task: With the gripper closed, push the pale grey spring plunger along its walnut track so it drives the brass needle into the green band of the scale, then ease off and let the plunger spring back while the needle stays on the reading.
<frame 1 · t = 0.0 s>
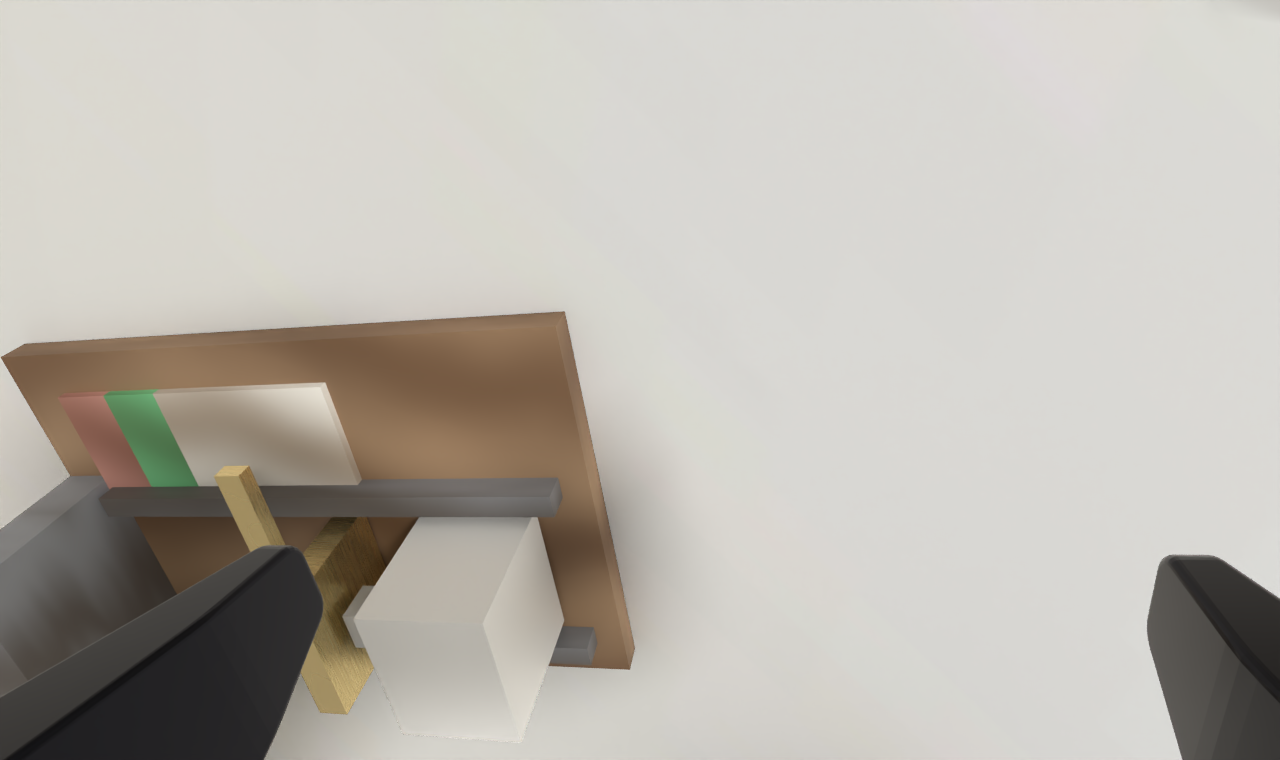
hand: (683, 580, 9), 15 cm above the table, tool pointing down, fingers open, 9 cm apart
drag needle: (320, 558, 26), point 3 cm above the table, slide at 0.0 cm
spring plunger: (441, 618, 26), point 4 cm above the table, slide at 0.0 cm
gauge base: (340, 501, 30), on the table
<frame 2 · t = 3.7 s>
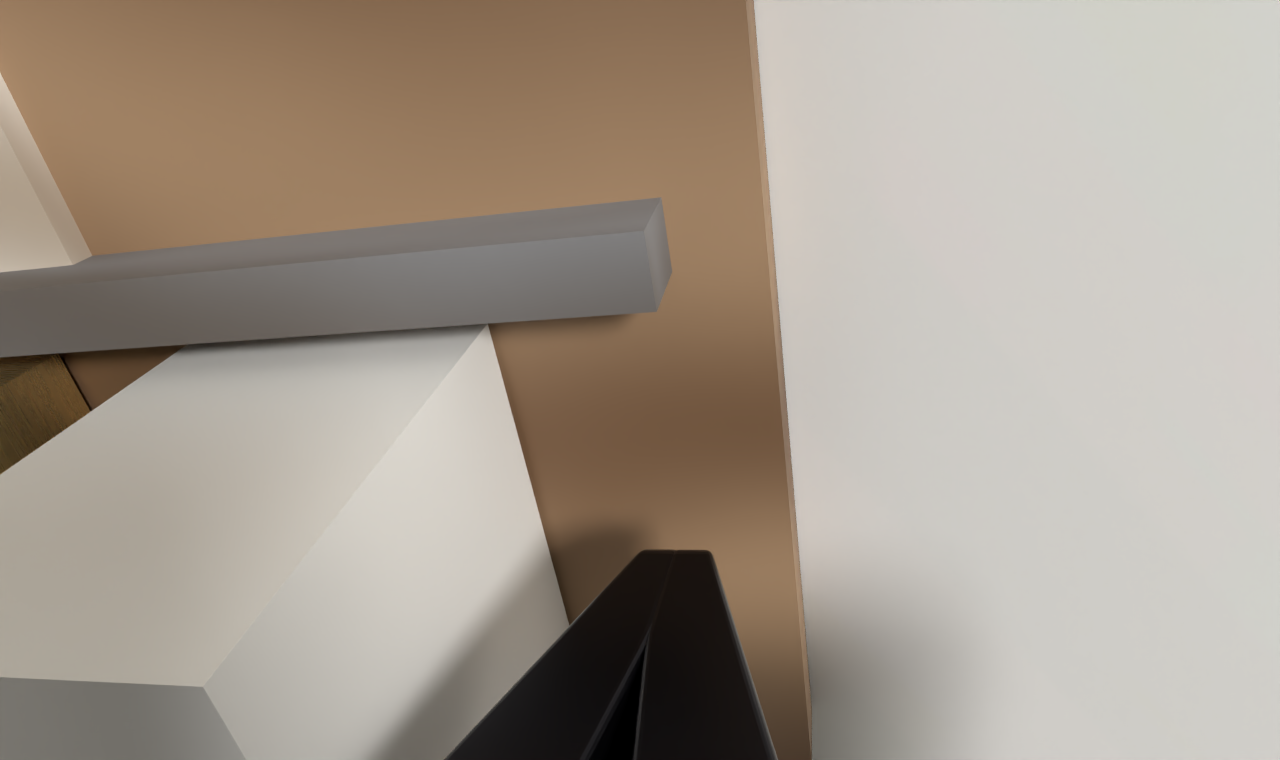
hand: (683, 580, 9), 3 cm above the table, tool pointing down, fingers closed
spring plunger: (210, 647, 9), point 4 cm above the table, slide at 1.2 cm, touching drag needle, gripper
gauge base: (87, 351, 12), on the table
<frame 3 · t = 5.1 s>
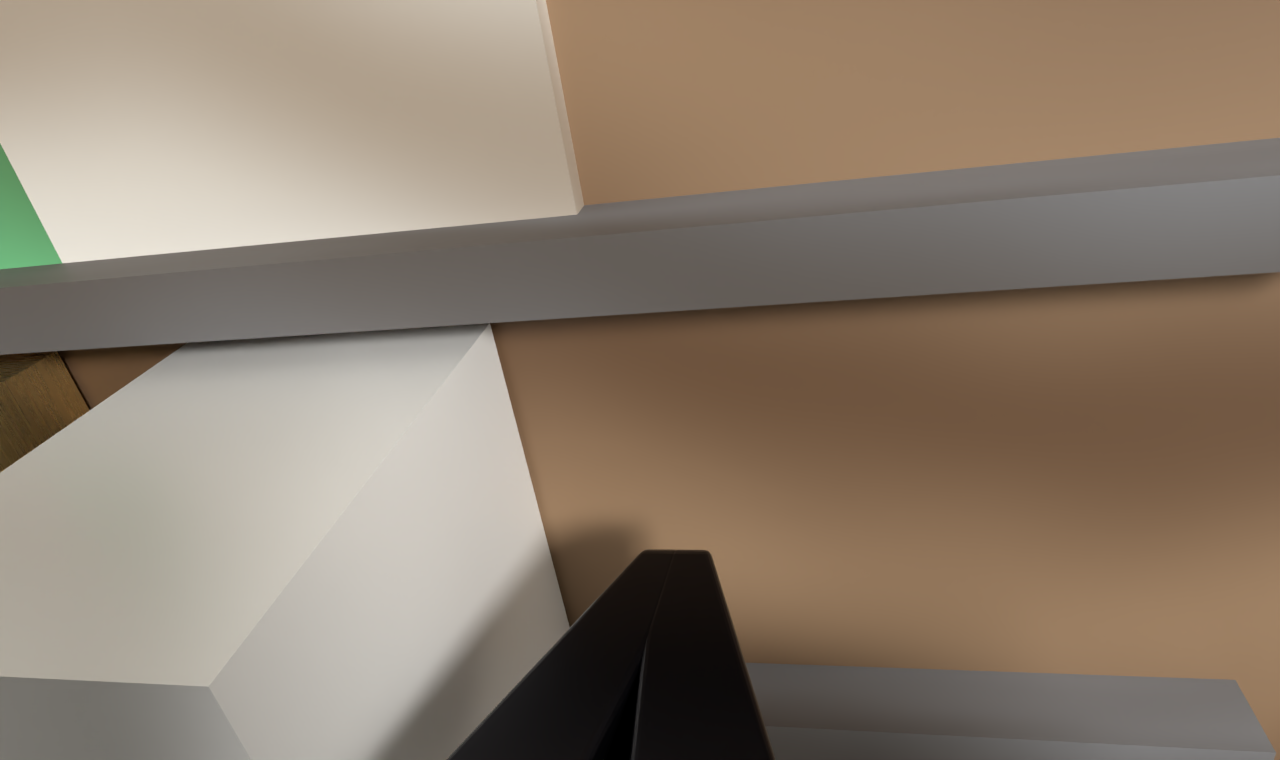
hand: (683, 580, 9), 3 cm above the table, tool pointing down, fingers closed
spring plunger: (210, 646, 9), point 4 cm above the table, slide at 7.3 cm, touching drag needle, gripper
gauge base: (477, 324, 10), on the table
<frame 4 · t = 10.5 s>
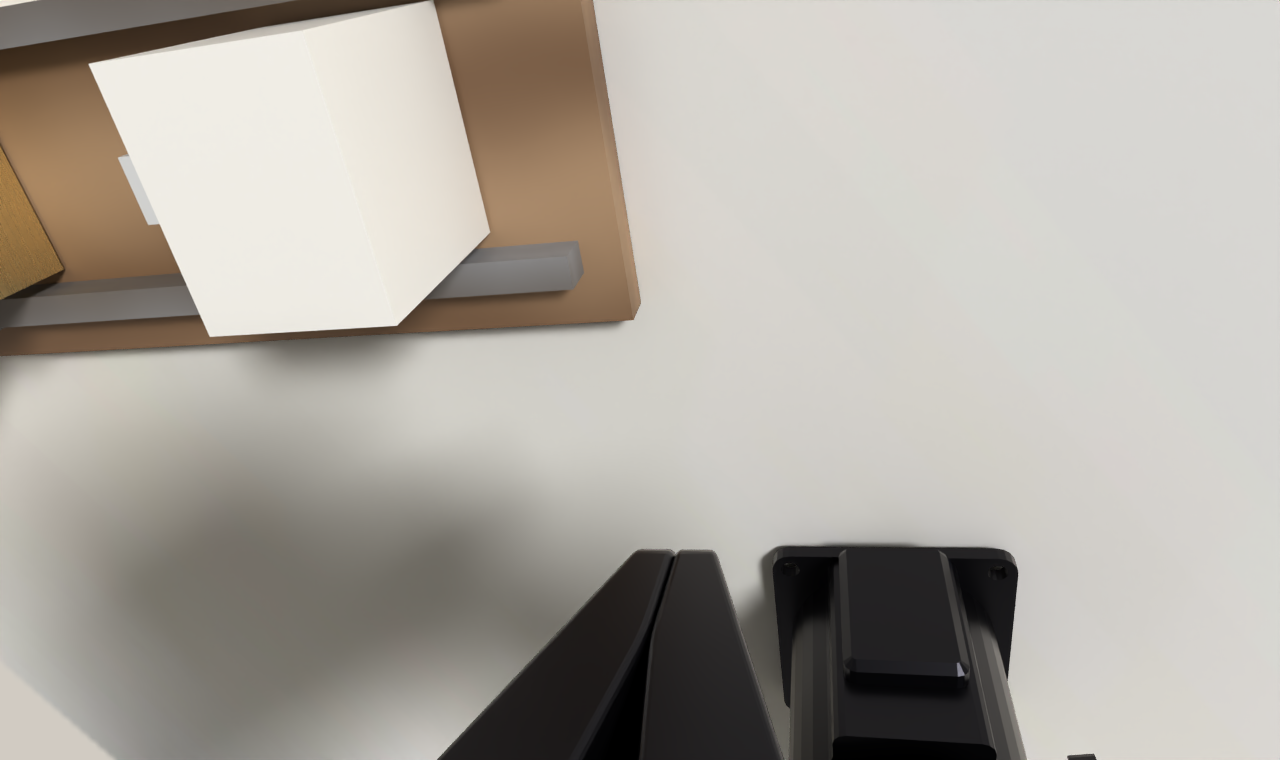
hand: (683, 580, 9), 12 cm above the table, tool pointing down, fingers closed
spring plunger: (281, 168, 16), point 4 cm above the table, slide at 1.0 cm
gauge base: (191, 60, 19), on the table
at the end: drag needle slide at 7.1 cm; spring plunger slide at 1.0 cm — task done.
